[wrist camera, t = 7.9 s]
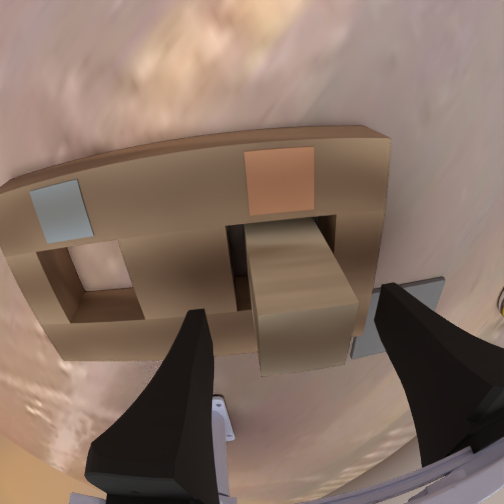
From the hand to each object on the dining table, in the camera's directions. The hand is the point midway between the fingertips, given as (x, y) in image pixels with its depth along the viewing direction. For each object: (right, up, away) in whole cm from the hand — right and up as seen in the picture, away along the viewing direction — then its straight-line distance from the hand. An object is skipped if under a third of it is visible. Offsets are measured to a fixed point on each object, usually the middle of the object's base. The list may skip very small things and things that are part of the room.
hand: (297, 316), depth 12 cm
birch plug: (-1, +3, +5) cm, 6 cm away
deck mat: (+10, -3, +10) cm, 14 cm away
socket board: (-6, +3, +5) cm, 8 cm away
